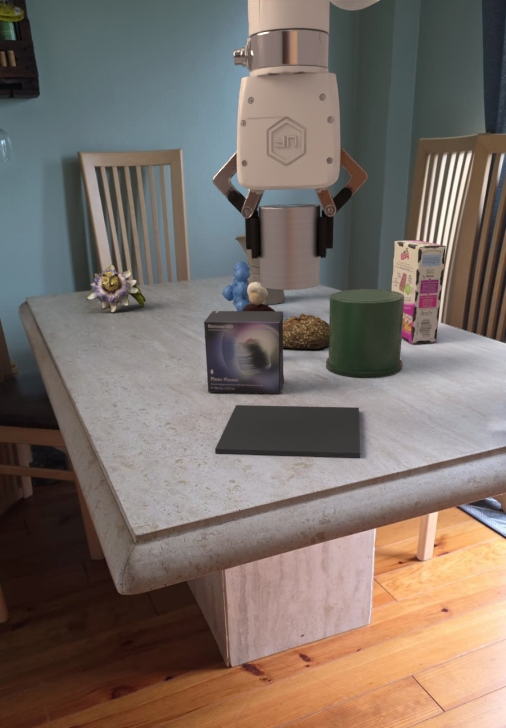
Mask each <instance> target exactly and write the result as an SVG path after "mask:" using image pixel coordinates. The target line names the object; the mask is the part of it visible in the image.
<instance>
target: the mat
mask: <svg viewBox="0 0 506 728" xmlns="http://www.w3.org/2000/svg"><path fill="white" fill-rule="evenodd" d="M360 435H361V433H360V408H359V407H357V406H356V407H352V406H301V405H300V406H299V405H296V406H295V405H252V404H251V405H250V404H246V405H245V404H236V405H235V406H234V408H233V410H232V413H231V414H230V417H229V419H228V421H227V423H226V426H225V427H224V429H223V431H222V434H221V435H220V438H219V440H218V442H217V444H216V446H215V447H214V453H215V454H223V455H224V454H225V455H229V454H230V455H257V456H259V455H261V456H264V455H265V456H288V457H289V456H292V457H293V456H294V457H320V458H321V457H322V458H323V457H324V458H325V457H326V458H352V459H353V458H356V459H357V458H358V459H359V458H361V438H360V437H361V436H360Z"/></svg>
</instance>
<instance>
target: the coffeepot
mask: <svg viewBox="0 0 506 728" xmlns="http://www.w3.org/2000/svg"><path fill="white" fill-rule="evenodd" d="M235 240H236V241H237V242H238V243H239V244H240V245H241V248H242V249H243V251H244V253H245V254H246V259H247V265H248V266H249V267H250V276H249V278H248V283H249V284H250V283H253V282H259V283H260V257H258V258H257V259H252V252H251V250H247V249H246V233H244V234H240V235H237V236H236V237H235ZM266 289H267V291H268V296H266V298H265V299H264V302H263V303H261V304H264V305H267V306H273V305H274V306H275V305H278V304H283V303H284V302H285V301H286V296H285V290H278V289H268V288H266ZM250 304H252V303H250Z"/></svg>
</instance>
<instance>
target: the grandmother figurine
mask: <svg viewBox="0 0 506 728" xmlns="http://www.w3.org/2000/svg"><path fill="white" fill-rule="evenodd" d="M247 293H248V296H249V300H250V302H251V303H252V304H248V305H246V306H245V307H244V308H243V310H242V311H276V310H275V309H274V308H273V307H271V306H270V305H264V304H261V303H263V302H264V299H265V298H266V296H268V291H267V289H266V288H264V287H262V286H261V285H260V283H259V282H253V283H250V284H249V286H248V289H247Z"/></svg>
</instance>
